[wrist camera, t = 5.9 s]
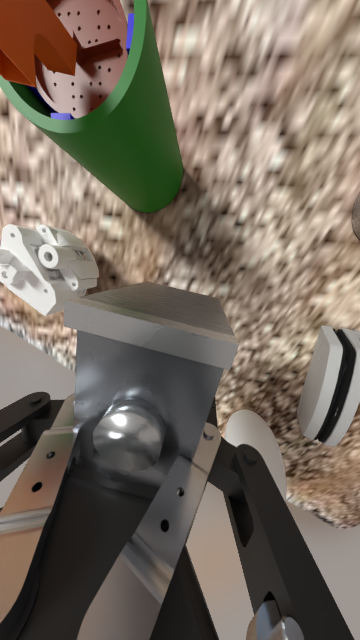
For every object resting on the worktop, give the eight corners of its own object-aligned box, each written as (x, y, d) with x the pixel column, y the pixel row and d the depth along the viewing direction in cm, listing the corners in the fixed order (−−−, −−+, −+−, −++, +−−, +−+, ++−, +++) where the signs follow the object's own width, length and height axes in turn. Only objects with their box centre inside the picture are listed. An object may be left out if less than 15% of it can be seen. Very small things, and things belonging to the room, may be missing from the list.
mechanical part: (33, 255, 31) (-67, 248, 19) (87, 222, 28) (7, 191, 16) (67, 314, 33) (-5, 337, 22) (120, 289, 30) (70, 301, 19)
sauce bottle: (253, 391, 32) (307, 534, 15) (272, 423, 33) (343, 588, 16) (214, 407, 34) (223, 547, 17) (234, 436, 35) (261, 594, 18)
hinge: (326, 416, 31) (345, 471, 23) (295, 406, 33) (301, 452, 25) (358, 327, 26) (396, 354, 18) (319, 321, 28) (337, 343, 20)
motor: (186, 137, 23) (90, -483, 4) (179, 214, 26) (103, 60, 7) (112, 136, 24) (-237, -356, 5) (113, 210, 27) (-114, 68, 8)
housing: (218, 298, 12) (240, 347, 4) (188, 403, 15) (170, 542, 7) (147, 281, 12) (58, 301, 5) (130, 387, 15) (57, 504, 8)
